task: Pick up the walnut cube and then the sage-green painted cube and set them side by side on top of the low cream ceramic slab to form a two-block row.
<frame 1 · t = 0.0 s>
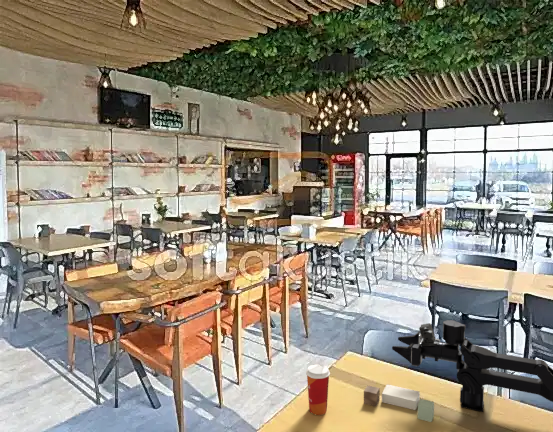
hand: (395, 343, 152), 17 cm above the table, tool horizontal, fingers open, 9 cm apart
walnut cube: (371, 402, 145), on the table
paper cup: (317, 411, 140), on the table
base slab: (400, 401, 145), on the table
sage cube: (425, 417, 136), on the table
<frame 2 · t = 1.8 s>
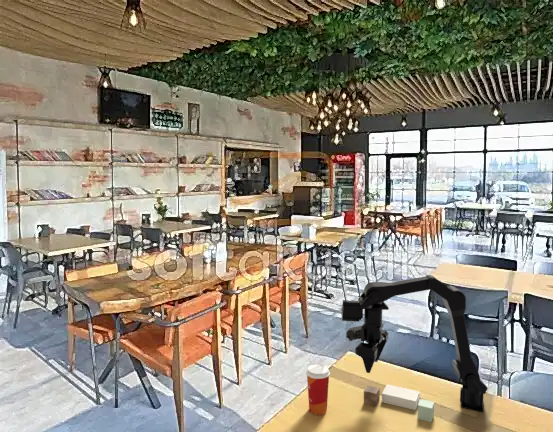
hand: (372, 367, 143), 12 cm above the table, tool pointing down, fingers open, 9 cm apart
nothing on the table moved.
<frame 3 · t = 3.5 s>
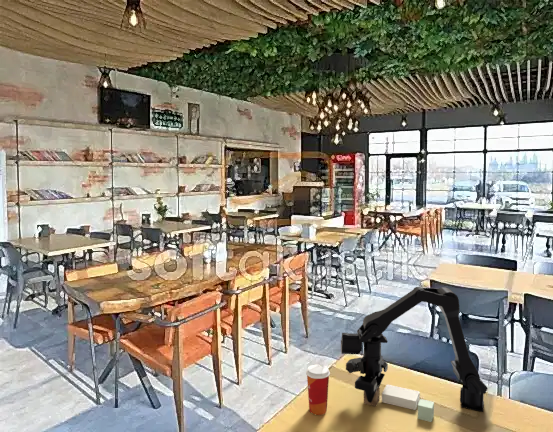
hand: (371, 399, 144), 1 cm above the table, tool pointing down, fingers closed on walnut cube, 4 cm apart
walnut cube: (371, 402, 145), on the table, touching gripper
everything else where it was.
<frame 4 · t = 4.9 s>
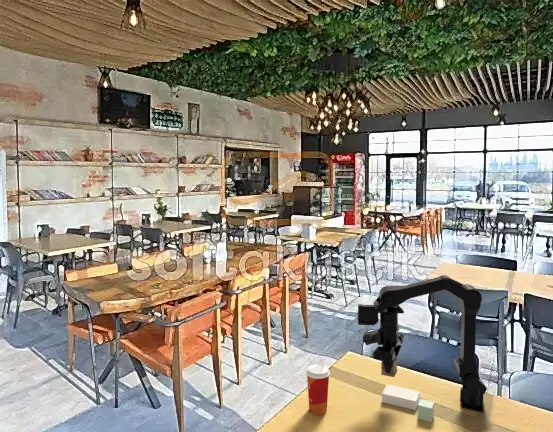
hand: (389, 370, 145), 10 cm above the table, tool pointing down, fingers closed on walnut cube, 4 cm apart
walnut cube: (389, 373, 145), point 9 cm above the table, touching gripper
everything else where it was.
when the fingers open (5 cm above the table, at t = 6.4 s): walnut cube drops 1 cm, resting on base slab.
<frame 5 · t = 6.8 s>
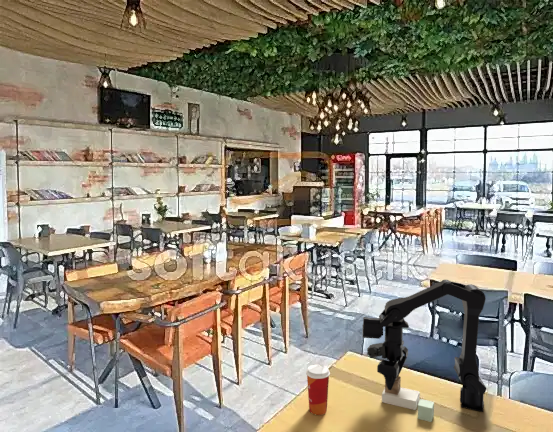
hand: (392, 383, 146), 5 cm above the table, tool pointing down, fingers open, 9 cm apart
walnut cube: (392, 390, 146), point 3 cm above the table, touching base slab
everything else where it was.
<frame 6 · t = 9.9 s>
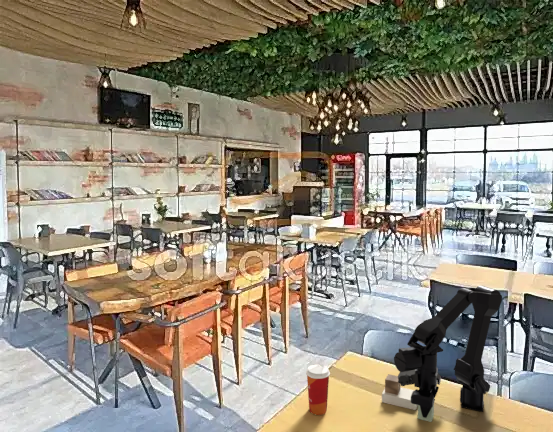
hand: (425, 413, 135), 1 cm above the table, tool pointing down, fingers closed on sage cube, 4 cm apart
sage cube: (425, 416, 136), on the table, touching gripper
everything else where it was.
when the fingers open (5 cm above the table, at t = 12.9 s): sage cube drops 1 cm, resting on base slab.
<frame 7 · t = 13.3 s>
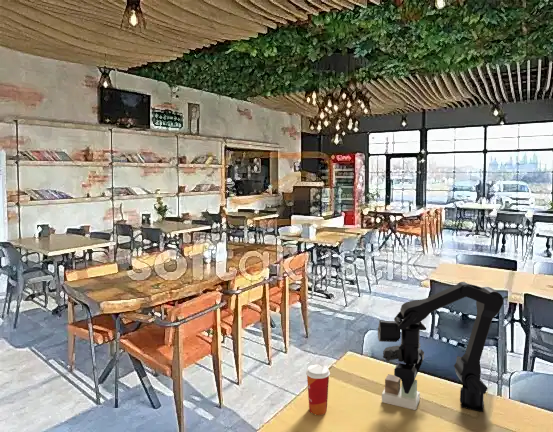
hand: (409, 387, 143), 5 cm above the table, tool pointing down, fingers open, 9 cm apart
sage cube: (409, 394, 143), point 3 cm above the table, touching base slab
everything else where it was.
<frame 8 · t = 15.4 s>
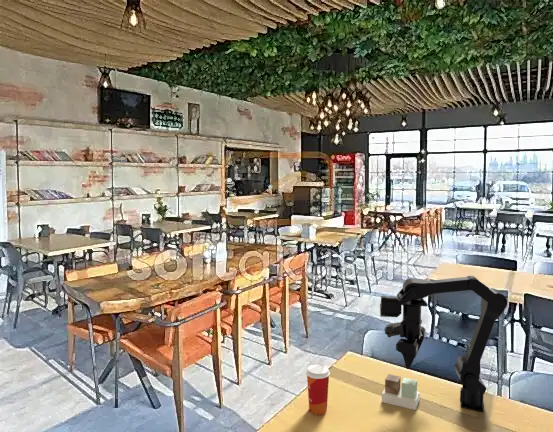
hand: (410, 363, 144), 13 cm above the table, tool pointing down, fingers open, 9 cm apart
nothing on the table moved.
at the end: walnut cube 0.4 cm from the target spot on the base slab, point 3.0 cm above the base slab's base; sage cube 0.4 cm from the target spot on the base slab, point 3.0 cm above the base slab's base; walnut cube touching base slab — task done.
